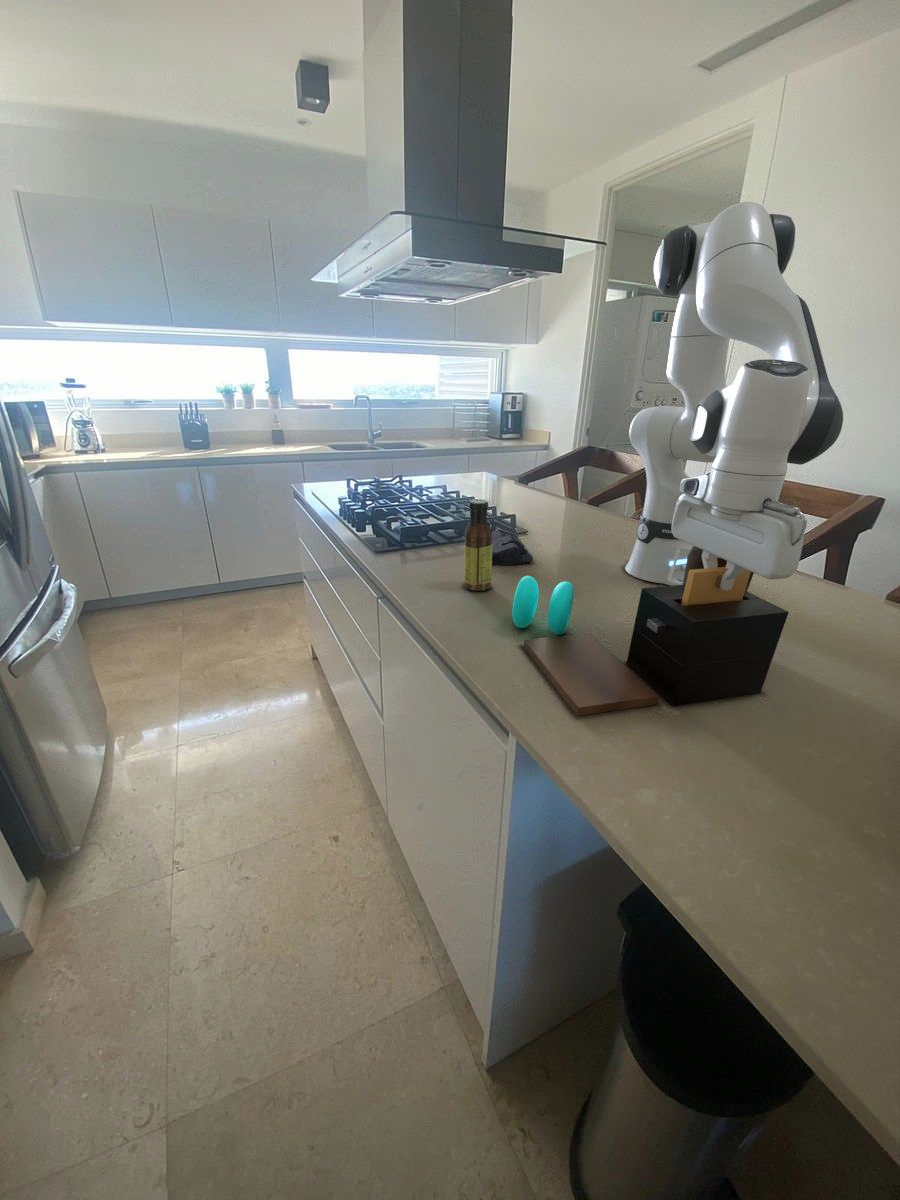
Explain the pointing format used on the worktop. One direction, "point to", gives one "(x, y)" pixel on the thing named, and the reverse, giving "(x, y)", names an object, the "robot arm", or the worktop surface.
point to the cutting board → (588, 674)
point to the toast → (712, 587)
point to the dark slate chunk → (508, 549)
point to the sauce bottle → (478, 548)
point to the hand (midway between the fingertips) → (716, 584)
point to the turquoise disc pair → (528, 603)
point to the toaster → (703, 645)
